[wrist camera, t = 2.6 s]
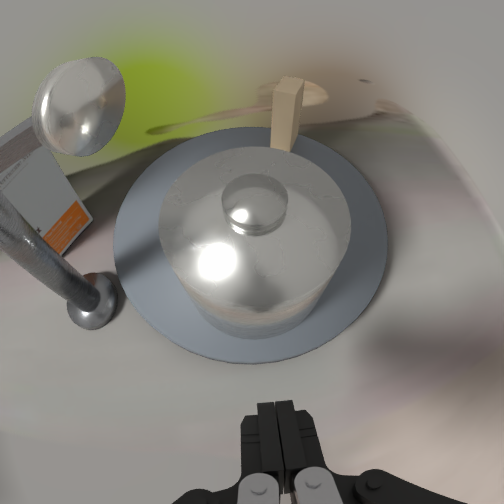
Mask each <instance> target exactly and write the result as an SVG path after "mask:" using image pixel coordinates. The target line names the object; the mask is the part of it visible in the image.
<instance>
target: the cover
mask: <svg viewBox="0 0 504 504" xmlns="http://www.w3.org/2000/svg"><path fill="white" fill-rule="evenodd" d="M158 229H159V238H160V242H161V246H162V249H163V251H164V254H165V256H166V258H167V260H168V261H169V263H170V265H171V267H172V268H173V270H174V272H175V274H176V276H177V277H178V279H179V281H180V282H181V284H182V286H183V288H184V289H185V291H186V293H187V294H188V296H189V298H190V299H191V301H192V303H193V304H194V306H195V308H196V309H197V311H198V312H199V314H200V315H201V316H202V317H203V318H204V319H205V320H206V321H207V322H208V323H209V324H210V325H211V326H213V327H214V328H216V329H218V330H219V331H221V332H223V333H225V334H227V335H230V336H233V337H237V338H242V339H250V340H259V339H268V338H272V337H276V336H279V335H281V334H284V333H286V332H288V331H290V330H292V329H293V328H295V327H296V326H297V325H299V324H300V323H301V322H302V321H303V320H304V319H305V318H306V317H307V316H308V315H309V314H310V312H311V311H312V310H313V308H314V306H315V305H316V303H317V301H318V300H319V298H320V297H321V295H322V293H323V292H324V290H325V288H326V287H327V285H328V283H329V281H330V280H331V278H332V276H333V275H334V273H335V271H336V269H337V268H338V266H339V264H340V262H341V261H342V259H343V257H344V255H345V253H346V251H347V247H348V244H349V241H350V234H351V217H350V212H349V208H348V205H347V202H346V199H345V197H344V195H343V194H342V192H341V190H340V188H339V187H338V186H337V184H336V183H335V182H334V180H333V179H332V178H331V177H330V176H329V175H328V174H327V173H326V172H325V171H323V170H322V169H321V168H320V167H318V166H317V165H315V164H314V163H313V162H311V161H309V160H307V159H305V158H303V157H301V156H299V155H296V154H294V153H291V152H288V151H285V150H280V149H276V148H269V147H240V148H234V149H229V150H225V151H221V152H218V153H215V154H213V155H210V156H208V157H206V158H204V159H202V160H200V161H199V162H197V163H195V164H194V165H192V166H191V167H190V168H188V169H187V170H186V171H185V172H183V173H182V174H181V175H180V176H179V177H178V178H177V180H176V181H175V182H174V183H173V185H172V186H171V187H170V189H169V191H168V192H167V194H166V196H165V198H164V200H163V203H162V206H161V209H160V213H159V222H158Z"/></svg>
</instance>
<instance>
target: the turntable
mask: <svg viewBox="0 0 504 504" xmlns="http://www.w3.org/2000/svg"><path fill="white" fill-rule="evenodd" d="M304 82H305V80H303V79H299V78H294V77H289V76H284V77H283V78H282V79H281V80H280V82H279V83H278V84H277V86H276V87H275V88H274V90H273V102H272V123H271V128H264V127H240V128H230V129H224V130H218V131H214V132H210V133H206V134H203V135H200V136H198V137H195V138H192V139H190V140H188V141H185V142H183V143H181V144H179V145H177V146H176V147H174V148H172V149H171V150H169V151H167V152H166V153H164V154H163V155H162V156H160V157H159V158H158V159H156V160H155V161H154V162H153V163H152V164H151V165H150V166H149V167H148V168H146V169H145V170H144V172H143V173H142V174H141V175H140V176H139V177H138V179H137V180H136V181H135V182H134V184H133V185H132V187H131V188H130V190H129V191H128V193H127V195H126V197H125V199H124V201H123V203H122V205H121V208H120V211H119V213H118V216H117V220H116V225H115V230H114V241H113V251H114V260H115V266H116V270H117V273H118V277H119V280H120V283H121V285H122V287H123V289H124V291H125V293H126V296H127V297H128V299H129V300H130V302H131V303H132V305H133V306H134V307H135V309H136V310H137V312H138V313H139V314H140V315H141V316H142V317H143V318H144V319H145V320H146V321H147V322H148V323H149V324H150V325H151V326H152V327H153V328H154V329H156V330H157V331H158V332H160V333H161V334H162V335H164V336H165V337H166V338H168V339H169V340H170V341H172V342H173V343H175V344H177V345H178V346H180V347H182V348H184V349H186V350H188V351H190V352H192V353H195V354H197V355H200V356H203V357H206V358H209V359H212V360H217V361H222V362H227V363H234V364H263V363H273V362H279V361H283V360H287V359H291V358H294V357H298V356H300V355H303V354H305V353H307V352H310V351H312V350H314V349H317V348H318V347H320V346H322V345H323V344H325V343H327V342H328V341H330V340H331V339H333V338H334V337H336V336H337V335H338V334H339V333H340V332H342V331H343V330H344V329H345V328H346V327H348V326H349V325H350V324H351V323H352V322H353V321H354V320H356V318H357V317H358V316H359V315H360V314H361V312H362V311H363V310H364V309H365V308H366V306H367V305H368V304H369V302H370V301H371V299H372V297H373V296H374V294H375V292H376V290H377V289H378V286H379V284H380V281H381V279H382V276H383V273H384V269H385V265H386V260H387V250H388V236H387V227H386V222H385V218H384V214H383V211H382V209H381V206H380V204H379V201H378V199H377V197H376V195H375V193H374V192H373V190H372V188H371V187H370V185H369V184H368V182H367V181H366V180H365V178H364V177H363V176H362V175H361V173H360V172H359V171H358V170H357V169H356V168H355V167H354V166H353V165H352V164H351V163H349V162H348V161H347V160H346V159H345V158H343V157H342V156H341V155H340V154H338V153H337V152H335V151H333V150H332V149H330V148H329V147H327V146H325V145H323V144H321V143H319V142H317V141H315V140H313V139H310V138H308V137H305V136H303V135H299V134H298V130H299V123H300V115H301V107H302V99H303V91H304ZM240 147H269V148H276V149H280V150H285V151H288V152H291V153H294V154H296V155H299V156H301V157H303V158H305V159H307V160H309V161H311V162H313V163H314V164H315V165H317V166H318V167H320V168H321V169H322V170H323V171H325V172H326V173H327V174H328V175H329V176H330V177H331V178H332V179H333V180H334V182H335V183H336V184H337V186H338V187H339V188H340V190H341V192H342V194H343V195H344V197H345V199H346V202H347V205H348V208H349V212H350V217H351V234H350V241H349V244H348V247H347V251H346V253H345V255H344V257H343V259H342V261H341V262H340V264H339V266H338V268H337V269H336V271H335V273H334V275H333V276H332V278H331V280H330V281H329V283H328V285H327V287H326V288H325V290H324V292H323V293H322V295H321V297H320V298H319V300H318V301H317V303H316V305H315V306H314V308H313V310H312V311H311V312H310V314H309V315H308V316H307V317H306V318H305V319H304V320H303V321H302V322H301V323H300V324H299V325H297V326H296V327H295V328H293V329H292V330H290V331H288V332H286V333H284V334H281V335H279V336H276V337H272V338H268V339H259V340H250V339H242V338H237V337H233V336H230V335H227V334H225V333H223V332H221V331H219V330H218V329H216V328H214V327H213V326H211V325H210V324H209V323H208V322H207V321H206V320H205V319H204V318H203V317H202V316H201V315H200V314H199V312H198V311H197V309H196V308H195V306H194V304H193V303H192V301H191V299H190V298H189V296H188V294H187V293H186V291H185V289H184V288H183V286H182V284H181V282H180V281H179V279H178V277H177V276H176V274H175V272H174V270H173V268H172V267H171V265H170V263H169V261H168V260H167V258H166V256H165V254H164V251H163V249H162V246H161V242H160V238H159V229H158V222H159V213H160V209H161V206H162V203H163V200H164V198H165V196H166V194H167V192H168V191H169V189H170V187H171V186H172V185H173V183H174V182H175V181H176V180H177V178H178V177H179V176H180V175H181V174H182V173H183V172H185V171H186V170H187V169H188V168H190V167H191V166H192V165H194V164H195V163H197V162H199V161H200V160H202V159H204V158H206V157H208V156H210V155H213V154H215V153H218V152H221V151H225V150H229V149H234V148H240Z"/></svg>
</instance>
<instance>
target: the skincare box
mask: <svg viewBox="0 0 504 504" xmlns="http://www.w3.org/2000/svg"><path fill="white" fill-rule="evenodd" d="M0 190H1V192H2V193H3V194H4V195H5V196H6V198H7V199H8V200H9V201H10V202H11V204H12V205H13V206H14V207H15V208H16V209H17V210H18V212H19V213H20V214H21V215H22V216H23V217H24V218H25V219H26V221H27V222H28V223H29V224H30V225H31V226H32V227H33V228H34V229H35V230H36V231H37V232H38V233H39V234H40V235H41V236H42V238H43V239H44V240H45V241H46V242H47V243H48V244H49V245H50V246H51V247H52V248H53V249H54V250H55V251H56V252H57V253H59V254H60V255H61V256H62V254H63V253H64V252H65V251H66V250H67V248H68V247H69V246H70V245H71V244H72V242H73V241H74V240H75V239H76V238H77V237H78V236H79V234H80V233H81V232H82V231H83V230H84V229H85V228H86V227H87V226H88V225H89V224H90V223H91V222H92V220H93V218H92V216H91V215H90V213H89V212H88V210H87V209H86V207H85V206H84V204H83V203H82V201H81V200H80V198H79V197H78V195H77V194H76V192H75V191H74V189H73V188H72V186H71V184H70V183H69V181H68V180H67V178H66V176H65V175H64V173H63V172H62V170H61V169H60V166H59V165H58V163H57V161H56V160H55V158H54V156H53V154H52V153H51V151H50V150H48V149H47V148H45V147H44V146H41V147H39V148H38V149H36V150H34V151H33V152H31V153H30V154H28V155H26V156H25V157H23V158H22V159H20V160H19V161H17V162H16V163H15V164H13V165H12V166H10V167H9V168H7V169H6V170H5V171H3V172H2V173H0Z"/></svg>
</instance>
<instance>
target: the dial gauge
mask: <svg viewBox="0 0 504 504" xmlns="http://www.w3.org/2000/svg"><path fill="white" fill-rule="evenodd" d="M124 107H125V85H124V81H123V78H122V75H121V73H120V71H119V69H118V68H117V67H116V66H115V65H114V64H113V63H112V62H111V61H109V60H107V59H105V58H102V57H91V58H85V59H79V60H74V61H70V62H66V63H63V64H61V65H59V66H58V67H56V68H55V69H53V70H52V71H51V72H50V73H49V74H48V75H47V76H46V77H45V79H44V80H43V81H42V83H41V84H40V86H39V88H38V90H37V92H36V95H35V98H34V101H33V106H32V116H31V117H30V118H28V119H26V120H25V121H23V122H22V123H20V124H19V125H17V126H16V127H14V128H13V129H12V130H10V131H8V132H7V133H6V134H4V135H3V136H1V137H0V173H2V172H3V171H5V170H6V169H7V168H9V167H10V166H12V165H13V164H15V163H16V162H17V161H19V160H20V159H22V158H23V157H25V156H26V155H28V154H30V153H31V152H33V151H34V150H36V149H38V148H39V147H41V146H44V147H45V148H47V149H48V150H50V151H53V152H56V153H62V154H68V155H73V156H80V157H82V156H88V155H91V154H94V153H96V152H97V151H99V150H100V149H102V148H103V147H104V146H105V145H106V144H107V143H108V142H109V141H110V140H111V138H112V137H113V135H114V134H115V132H116V130H117V128H118V126H119V124H120V121H121V119H122V116H123V112H124ZM0 249H1V250H2V251H3V252H4V253H6V254H7V255H8V256H9V257H10V258H11V259H13V260H14V261H15V262H16V263H17V264H19V265H20V266H21V267H22V268H24V269H25V270H26V271H27V272H29V273H30V274H31V275H32V276H34V277H35V278H36V279H38V280H39V281H40V282H42V283H43V284H44V285H46V286H47V287H48V288H50V289H51V290H53V291H54V292H55V293H57V294H58V295H60V296H61V297H62V298H64V299H65V300H67V310H68V314H69V316H70V318H71V319H72V321H73V322H74V323H75V324H77V325H78V326H80V327H82V328H84V329H87V330H96V329H99V328H101V327H103V326H104V325H106V324H107V323H108V322H109V321H110V320H111V318H112V317H113V315H114V313H115V311H116V307H117V301H118V297H117V291H116V289H115V286H114V285H113V284H112V282H111V281H110V280H109V279H108V278H107V277H105V276H104V275H102V274H100V273H88V274H86V275H84V276H82V275H81V274H80V273H79V272H78V271H77V270H76V269H74V268H73V267H72V266H71V265H70V264H69V263H68V262H67V261H66V260H65V259H64V258H63V257H62V256H61V255H60V254H59V253H57V252H56V251H55V250H54V249H53V248H52V247H51V246H50V245H49V244H48V243H47V242H46V241H45V240H44V239H43V238H42V236H41V235H40V234H39V233H38V232H37V231H36V230H35V229H34V228H33V227H32V226H31V225H30V224H29V223H28V222H27V221H26V219H25V218H24V217H23V216H22V215H21V214H20V213H19V212H18V210H17V209H16V208H15V207H14V206H13V205H12V204H11V202H10V201H9V200H8V199H7V198H6V196H5V195H4V194H3V193H2V192H1V190H0Z"/></svg>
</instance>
